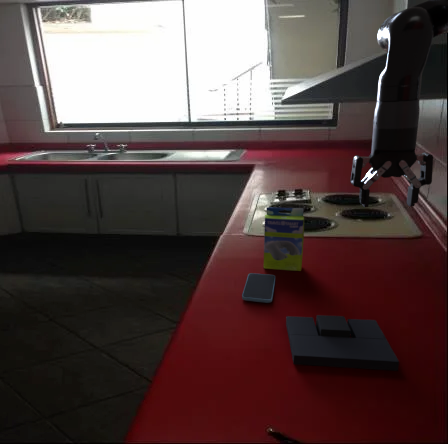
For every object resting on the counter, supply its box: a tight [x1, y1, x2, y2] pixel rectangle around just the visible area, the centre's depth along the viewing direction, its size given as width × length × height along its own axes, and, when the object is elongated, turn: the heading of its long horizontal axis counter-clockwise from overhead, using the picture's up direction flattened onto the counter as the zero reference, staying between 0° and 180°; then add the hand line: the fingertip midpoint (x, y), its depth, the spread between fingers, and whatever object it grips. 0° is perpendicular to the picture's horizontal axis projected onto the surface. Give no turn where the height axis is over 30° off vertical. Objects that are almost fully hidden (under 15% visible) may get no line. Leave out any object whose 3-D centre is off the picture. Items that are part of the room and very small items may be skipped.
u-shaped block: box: [285, 315, 400, 372], centre depth 83 cm, size 18×14×2 cm
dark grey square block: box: [315, 314, 351, 338], centre depth 86 cm, size 6×6×3 cm
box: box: [262, 206, 305, 272], centre depth 116 cm, size 10×4×17 cm, turn 73°
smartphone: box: [241, 272, 276, 304], centre depth 107 cm, size 7×1×15 cm
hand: (387, 205), depth 85 cm, fingers open, 8 cm apart
